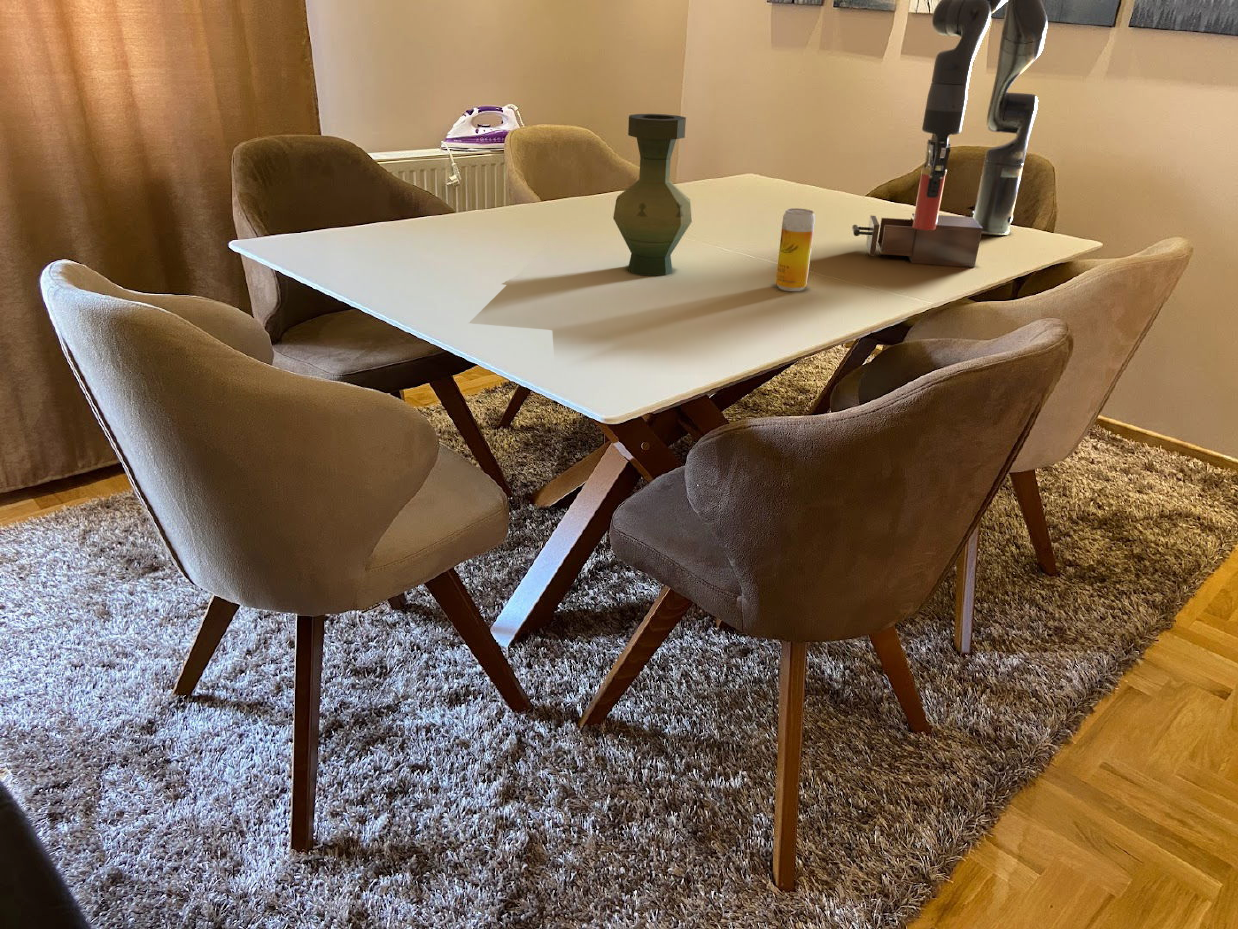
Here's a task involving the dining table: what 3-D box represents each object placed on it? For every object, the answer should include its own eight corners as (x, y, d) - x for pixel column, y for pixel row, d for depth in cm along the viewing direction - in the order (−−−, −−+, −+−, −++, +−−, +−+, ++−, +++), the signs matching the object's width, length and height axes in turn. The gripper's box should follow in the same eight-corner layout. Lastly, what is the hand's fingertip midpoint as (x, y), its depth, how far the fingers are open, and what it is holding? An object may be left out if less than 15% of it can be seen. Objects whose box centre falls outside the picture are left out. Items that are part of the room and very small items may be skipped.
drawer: (851, 254, 207) (856, 223, 204) (848, 243, 216) (852, 214, 213) (926, 259, 205) (932, 228, 202) (920, 248, 214) (925, 218, 211)
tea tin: (910, 224, 198) (920, 166, 192) (934, 225, 197) (944, 167, 192) (913, 229, 193) (923, 169, 188) (937, 230, 193) (948, 171, 187)
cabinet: (911, 262, 205) (918, 223, 201) (905, 250, 215) (911, 213, 211) (974, 267, 203) (982, 227, 199) (965, 254, 213) (972, 217, 210)
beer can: (772, 283, 186) (780, 207, 179) (801, 283, 186) (811, 208, 180) (779, 291, 180) (788, 214, 174) (809, 292, 181) (819, 214, 174)
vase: (697, 265, 197) (708, 115, 183) (677, 283, 183) (687, 124, 170) (625, 256, 201) (630, 110, 188) (600, 274, 188) (603, 117, 174)
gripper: (971, 112, 178) (954, 202, 185) (958, 105, 191) (943, 190, 198) (931, 110, 179) (915, 200, 186) (921, 103, 192) (907, 188, 199)
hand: (929, 194), depth 192 cm, fingers closed on tea tin, 5 cm apart
